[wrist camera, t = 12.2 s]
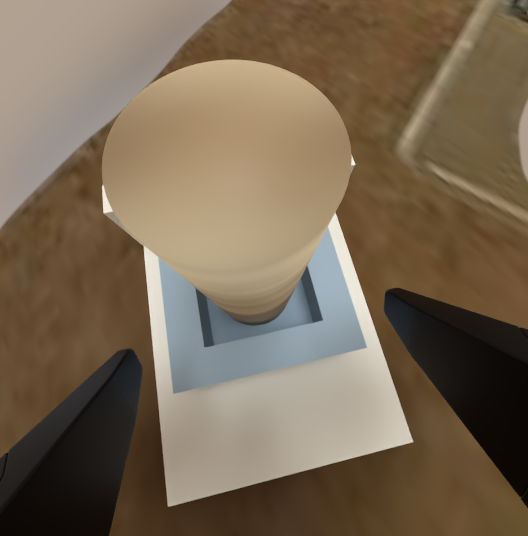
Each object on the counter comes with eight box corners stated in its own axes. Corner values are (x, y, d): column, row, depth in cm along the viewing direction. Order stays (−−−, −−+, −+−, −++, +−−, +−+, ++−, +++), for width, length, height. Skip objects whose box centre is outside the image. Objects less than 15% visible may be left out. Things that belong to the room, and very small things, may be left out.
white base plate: (408, 438, 17) (479, 484, 12) (171, 501, 16) (120, 585, 11) (325, 191, 23) (345, 139, 17) (144, 227, 22) (102, 185, 16)
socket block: (345, 347, 18) (367, 347, 15) (193, 383, 18) (173, 394, 14) (305, 212, 22) (314, 184, 18) (174, 239, 21) (153, 215, 17)
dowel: (296, 318, 18) (385, 241, 5) (225, 331, 18) (102, 292, 4) (281, 252, 19) (317, 46, 6) (215, 263, 19) (101, 76, 6)
